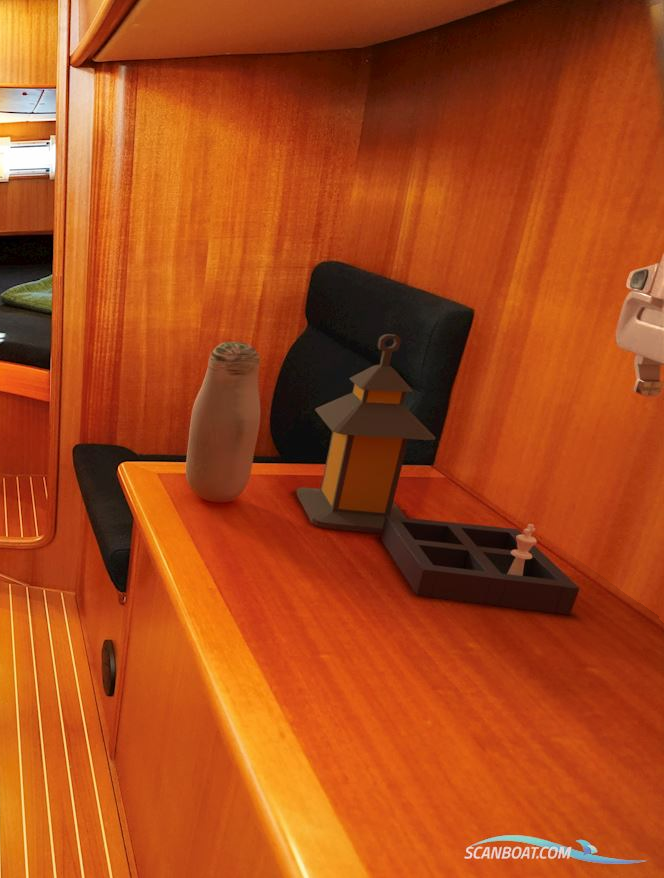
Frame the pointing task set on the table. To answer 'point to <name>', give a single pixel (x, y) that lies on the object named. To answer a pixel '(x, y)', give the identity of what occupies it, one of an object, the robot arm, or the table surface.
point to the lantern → (364, 450)
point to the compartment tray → (475, 565)
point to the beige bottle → (224, 424)
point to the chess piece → (522, 550)
